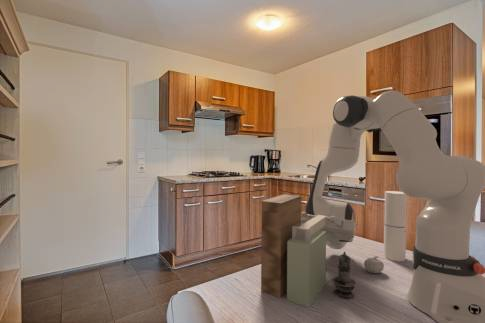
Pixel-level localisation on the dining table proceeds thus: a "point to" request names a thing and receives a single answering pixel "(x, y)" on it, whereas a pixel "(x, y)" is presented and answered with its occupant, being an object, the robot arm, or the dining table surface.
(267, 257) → the tall stand
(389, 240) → the cylindrical container
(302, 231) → the beige rectangular bar
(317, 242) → the olive grey block
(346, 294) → the stone chess bishop
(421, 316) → the dining table surface
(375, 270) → the garlic
